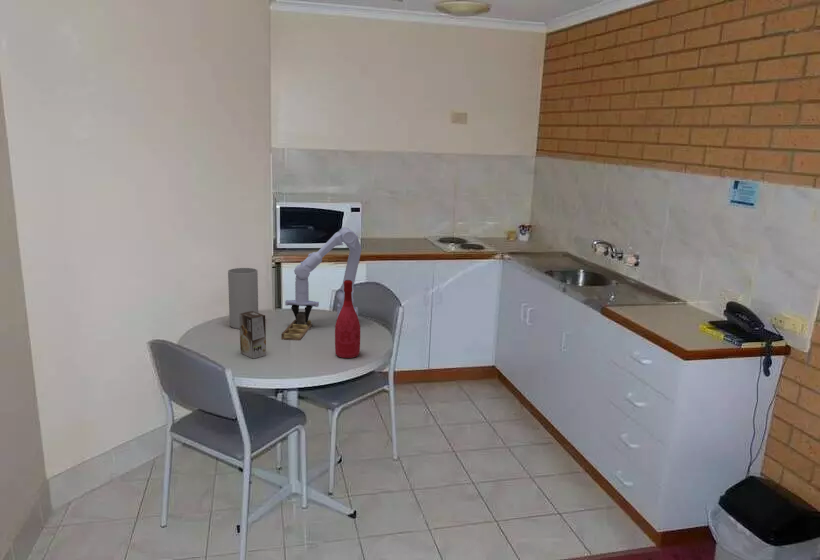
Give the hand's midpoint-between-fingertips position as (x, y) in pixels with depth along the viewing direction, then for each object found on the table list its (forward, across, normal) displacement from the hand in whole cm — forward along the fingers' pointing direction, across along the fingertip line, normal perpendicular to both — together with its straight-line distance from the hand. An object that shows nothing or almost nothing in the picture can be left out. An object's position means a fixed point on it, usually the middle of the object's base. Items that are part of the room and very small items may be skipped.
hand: (302, 321), depth 280 cm
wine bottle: (+3, -26, +33) cm, 42 cm away
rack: (+3, 0, +7) cm, 8 cm away
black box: (+2, 0, 0) cm, 2 cm away
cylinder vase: (+3, +26, +1) cm, 26 cm away
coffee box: (+3, +10, +38) cm, 39 cm away
